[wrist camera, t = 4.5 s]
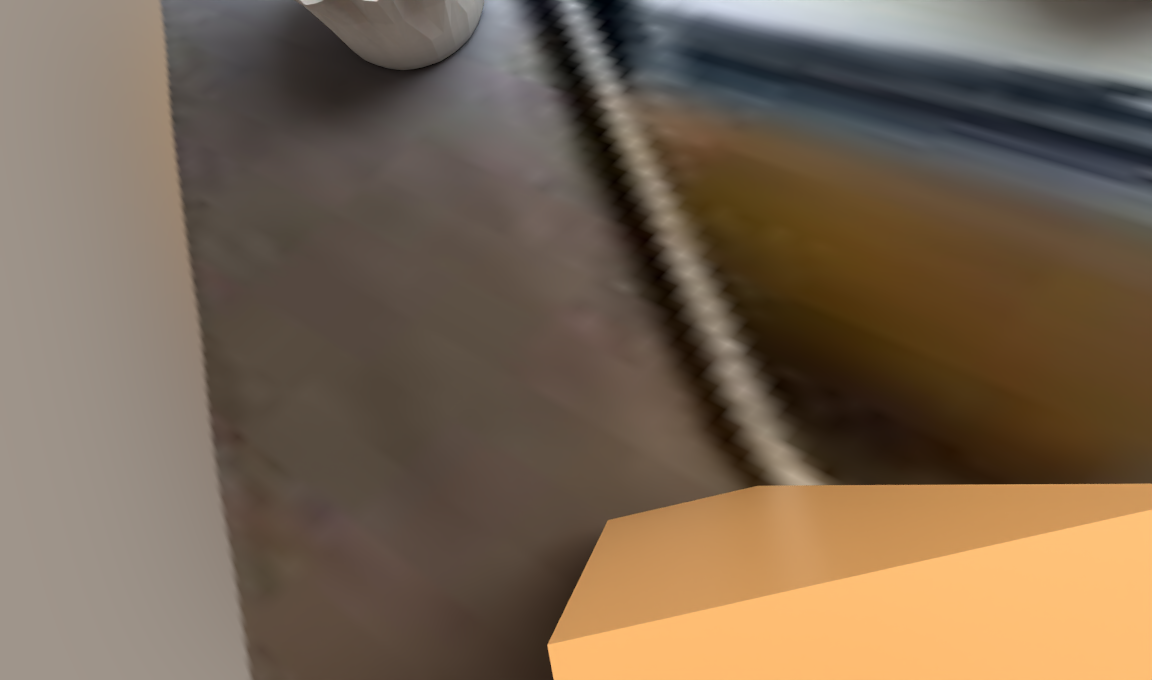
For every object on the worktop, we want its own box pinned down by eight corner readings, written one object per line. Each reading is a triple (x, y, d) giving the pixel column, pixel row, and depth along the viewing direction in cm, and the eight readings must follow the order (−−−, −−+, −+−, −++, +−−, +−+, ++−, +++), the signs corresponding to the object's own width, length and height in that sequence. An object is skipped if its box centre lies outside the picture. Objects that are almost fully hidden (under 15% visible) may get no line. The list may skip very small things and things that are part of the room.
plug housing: (809, 654, 14) (1961, 1701, 2) (646, 691, 14) (778, 1893, 2) (757, 485, 15) (1269, 483, 3) (608, 520, 15) (546, 645, 3)
